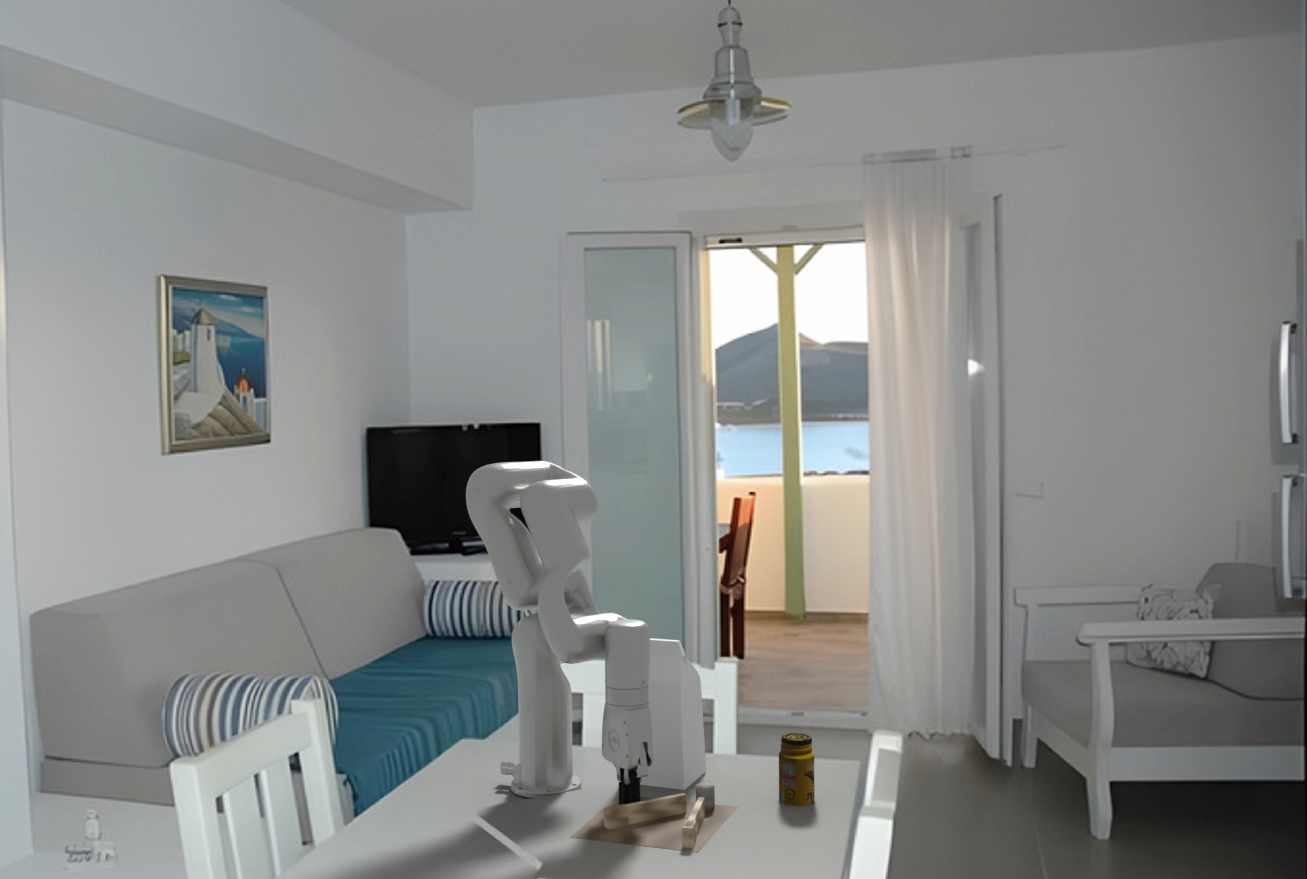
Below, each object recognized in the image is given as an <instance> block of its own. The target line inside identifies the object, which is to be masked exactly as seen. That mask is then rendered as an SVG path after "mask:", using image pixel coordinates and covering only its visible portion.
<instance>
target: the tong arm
mask: <svg viewBox="0 0 1307 879" xmlns="http://www.w3.org/2000/svg"><path fill="white" fill-rule="evenodd" d="M686 801H687V794H686V793H684V792H682V793H676V794H671V795H666V796H662V797H655V799H650V800H645V801H640V802H635V803H630V804H625V805H624V804H622V805H617V806H612V807H607V808H605V807H604V808H603V809H604V827H605V828H607V829H613V828H618V827H623V826H628V825H629V824H634V823H639V822H644V821H648V820H653V819H658V818H663V817H668V816H672V815H677V814H682V813H687V812H686Z"/></svg>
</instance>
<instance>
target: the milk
mask: <svg viewBox="0 0 1307 879" xmlns="http://www.w3.org/2000/svg"><path fill="white" fill-rule="evenodd" d="M650 682H651V683H650V684H651V705H649V707H650V713H651V720H652V731H653V763H652V765H651V766H647V767H648V776H646V777H642V781H641V782H640V786H650V787H657V788H664V789H665V788H666V789H674V790H684V791H685V790H686V789H687V788H689V787H690V786H692V784H693V783H695V782H696V781H697V780H698V779H699V778H701V777H702V776H703V775H704V774H705V773H706V772H707V758H706V746H705V744H706V743H705V742H706V741H705V728H704V726H705V725H704V715H703V712H704V711H703V709H704V708H703V697H702V696H703V694H702V682H701V677H700V674H699V671H697V669H696V668H695V666H694V664H692V662H691V660H690V659H689V658H688V656H686V652H685V650H684V647H683V645H682V642H681V640H680V639H679V640H678V639H667V638H665V639H664V638H651V637H650Z"/></svg>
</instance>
